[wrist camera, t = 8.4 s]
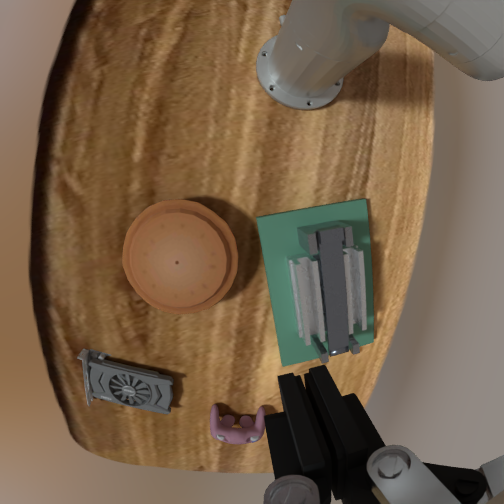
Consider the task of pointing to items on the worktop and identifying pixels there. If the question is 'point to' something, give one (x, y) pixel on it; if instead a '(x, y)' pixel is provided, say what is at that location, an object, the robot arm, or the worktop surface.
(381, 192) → the worktop surface
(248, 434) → the video game controller
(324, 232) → the grey lever rod
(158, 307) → the pie
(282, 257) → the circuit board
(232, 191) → the worktop surface
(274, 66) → the robot arm
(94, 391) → the graphics card
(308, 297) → the heat sink
